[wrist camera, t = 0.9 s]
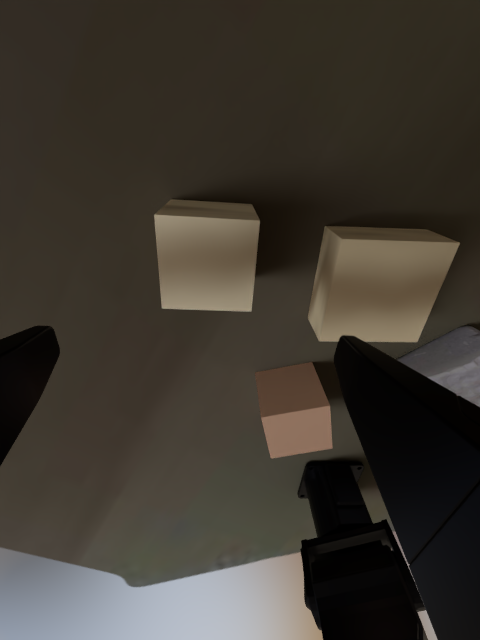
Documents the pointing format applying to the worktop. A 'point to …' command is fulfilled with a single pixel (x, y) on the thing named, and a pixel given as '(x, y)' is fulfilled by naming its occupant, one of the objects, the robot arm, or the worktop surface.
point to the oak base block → (377, 282)
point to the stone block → (451, 362)
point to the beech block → (207, 255)
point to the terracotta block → (294, 410)
